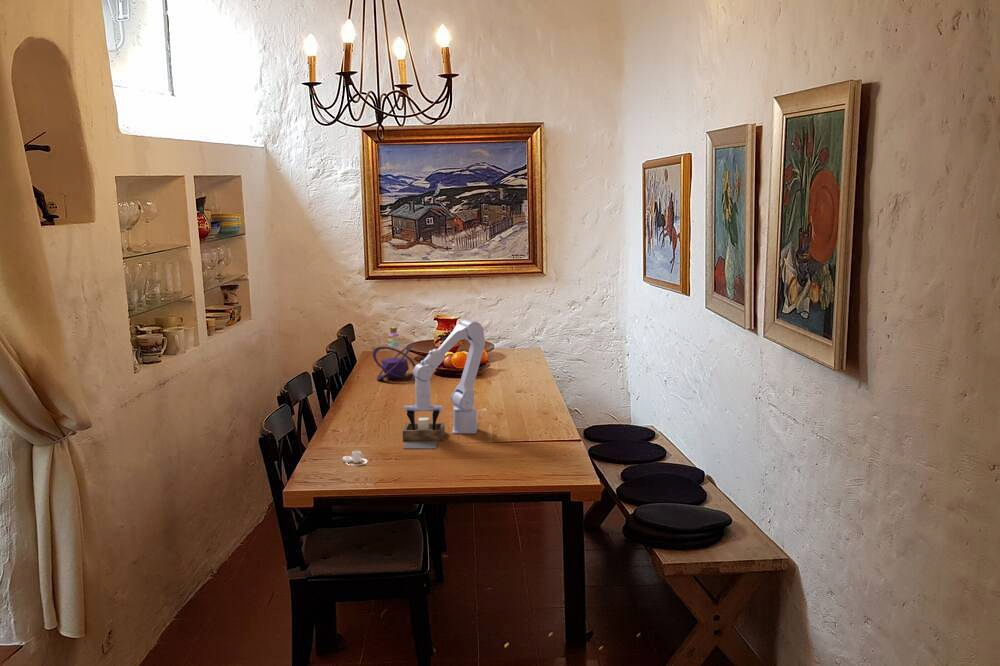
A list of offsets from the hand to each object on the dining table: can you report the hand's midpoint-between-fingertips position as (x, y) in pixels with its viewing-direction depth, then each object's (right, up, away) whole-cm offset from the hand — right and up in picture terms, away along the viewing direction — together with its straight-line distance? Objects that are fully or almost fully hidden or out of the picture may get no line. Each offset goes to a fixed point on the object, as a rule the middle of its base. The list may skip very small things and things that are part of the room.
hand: (423, 429), depth 351 cm
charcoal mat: (0, -5, -10) cm, 11 cm away
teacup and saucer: (-22, -9, -25) cm, 34 cm away
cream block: (0, -1, 0) cm, 1 cm away
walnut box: (0, -3, 0) cm, 3 cm away
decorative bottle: (-22, +15, +96) cm, 100 cm away
